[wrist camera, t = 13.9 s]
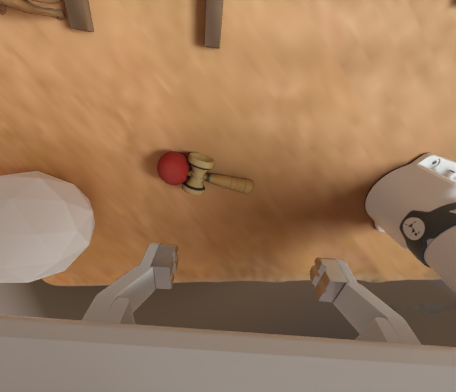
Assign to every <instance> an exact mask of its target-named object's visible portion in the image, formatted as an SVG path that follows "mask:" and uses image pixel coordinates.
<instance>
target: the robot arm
mask: <svg viewBox="0 0 456 392" xmlns="http://www.w3.org/2000/svg"><path fill="white" fill-rule="evenodd" d="M365 208H366V211H367V214H368V215H369V216H370V217H371V218H372V219H373V220H374V222H375V227H376V229H377V230H379V231H380V232H386V233H387V234H388V235H389V236H390V237H391V238H392V239H394V240H395V241H396V242H397V243H398V244H399V245H400V246H401V247H403V248H404V249H406V250H410V251H411V252H412V253H413V255H414V256H415V257H416V258H417V259H418V260H420V261H421V262H422V263H423V264H424V265H426V266H427V267H430V268H432V269H433V271H434V272H435V273H436V274H437V275H438V276H439V277H440V278H441V279H442V280H443V281H444V282H445V283H446V284H447V285H448V286H449V287H450V288H451V289H452V290H453V291H454V292H455V293H456V162H455V161H452V160H449V159H447V158H444V157H441V156H438V155H435V154H432V153H426V154H424V155H422V156H421V157H419V158H418V159H416V160H415V161H413V162H412V163H410V164H408V165H406V166H403V167H401V168H398V169H396V170H394V171H392V172H390V173H389V174H387V175H385V176H384V177H383V178H381V179H380V180H379V181H378V182H377V183H376V184H375V185H374V186H373V188H372V189H371V190H370V192H369V194H368V196H367V198H366V203H365ZM177 252H178V245H171V244H162V243H152V242H151V243H150V244H149V246H148V248H147V250H146V253H145V255H144V257H143V259H142V261H141V263H140V266H135V267H134V268H133V269H131V270H130V271H129V272H127V273H126V274H124V275H123V276H122V277H120V278H119V279H118V280H116V281H115V282H114V283H112V284H111V285H109V286H108V287H107V288H105V289H104V290H103V291H101V292H100V293H99V294H97V295H96V297H95V299H94V300H93V302H92V304H91V305H90V307H89V309H88V310H87V312H86V314H85V315H84V317H83V319H82V321H79V320H65V319H52V318H38V317H24V316H10V315H0V392H456V347H444V346H430V345H421V344H420V342H419V340H418V339H417V337H416V336H415V334H414V333H413V331H412V330H411V328H410V327H409V325H408V324H407V322H406V321H405V319H404V318H402V317H401V316H400V315H399V314H397V313H396V312H395V311H394V310H392V309H391V308H390V307H389V306H387V305H386V304H385V303H384V302H382V301H381V300H380V299H379V298H377V297H376V296H375V295H374V294H372V293H371V292H370V291H368V290H367V289H366V288H365V287H364V286H362V285H361V284H358V283H357V281H356V279H355V277H354V276H353V274H352V272H351V270H350V269H349V267H348V265H347V263H346V262H345V261H344V260H343V259H332V258H319V257H318V258H316V259H315V261H314V262H315V265H314V266H312V267H311V270H310V279H311V282H312V283H313V284H314V285H315V286H316V287H315V293H316V296H317V298H318V301H326V302H333V304H334V305H335V306H336V307H337V308H338V310H339V311H340V312H341V313H342V314H343V315H344V316H345V317H346V319H347V320H348V321H349V322H350V323H351V324H352V325H353V327H354V328H355V329H356V330H357V331H358V332H359V333H360V335H359V336H358V337H357V338H356V339H355V340H346V339H330V338H318V337H303V336H290V335H276V334H261V333H247V332H233V331H218V330H205V329H204V330H203V329H190V328H176V327H163V326H162V327H161V326H148V325H135V321H134V318H133V312H134V311H135V310H136V309H137V308H138V307H139V306H140V305H141V304H142V303H143V302H144V301H145V300H146V299H147V298H148V297H149V296H150V295H151V294H152V293H153V291H154V290H155V289H156V288H159V289H171V288H172V285H173V281H174V273H175V272H176V270H177V265H178V254H177Z"/></svg>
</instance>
